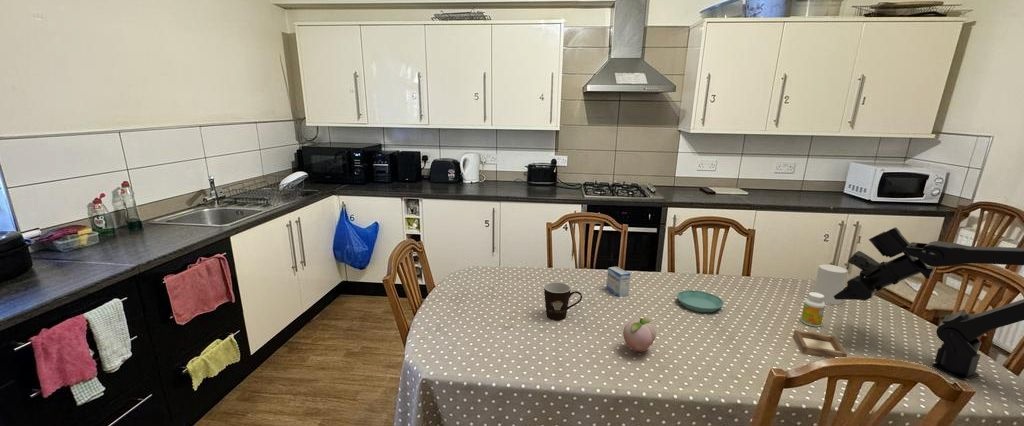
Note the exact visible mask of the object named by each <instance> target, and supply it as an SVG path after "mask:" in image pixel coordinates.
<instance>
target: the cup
mask: <svg viewBox="0 0 1024 426" xmlns="http://www.w3.org/2000/svg"><path fill="white" fill-rule="evenodd" d="M847 276H848V269H846V268H844V267H841V266H838V265H833V264H826V263H825V264H819V265H818V269H817V273H816V279H815V280H816V281H815V283H814V284H815V285H814V289H813V290H814V291H813V292H816V293H820V294H822V295H824V300H823V302H824V303H825V304H826V303H827V305H831V304H833V305H832V306H838V304H839V305H841V304H842V300H836V299H835V298H834V295H836V294H837V293H839V292H840V291H842V290H843V289H844V288H845V287H846V280H847Z"/></svg>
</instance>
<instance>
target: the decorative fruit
mask: <svg viewBox="0 0 1024 426" xmlns="http://www.w3.org/2000/svg"><path fill="white" fill-rule="evenodd" d="M651 322H652V320H651V319H649V318H648V317H640V319H637V318H635V319H632V320H630V321H628V322H627V323H626V324H625V325H624V327H623V329H622V331H623V332H622V335H623V339H624V342H625V343H626V345H627V347H628V348H630V349H631V350H633V351H636V352H639V353H640V352H645V351H646V350H648V349H649V348H650V346H652V345H653V343H654V341H655V340H656V338H657V331H656V328H655V327H654V325H653V324H652V323H651Z"/></svg>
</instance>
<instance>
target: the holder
mask: <svg viewBox="0 0 1024 426" xmlns="http://www.w3.org/2000/svg"><path fill="white" fill-rule="evenodd" d="M792 336H793V338H794V340H795V342H796V344H797V345H798V346H797V347H799V349H800V351H801V354H804V355H810V356H817V357H823V358H827V359H833V358H835V357H846V358H847V356H848V353H847V352H846V350H845V349H844V347H843V346H842V345H841V344H840V342H839V341H838V339H837V337H836V336H834V335H829V334H821V333H815V332H809V331H804V330H803V331H802V330H798V329H797V330H796V329H794V331H793V335H792Z"/></svg>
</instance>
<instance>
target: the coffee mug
mask: <svg viewBox="0 0 1024 426" xmlns="http://www.w3.org/2000/svg"><path fill="white" fill-rule="evenodd" d="M571 287H572V286H570V285H569V284H568V283H565V282H559V281H553V282H548V283H545V284H544V285H543V293H544V294H543V295H544V304H545V315H546V316H545V317H546V318H547V319H549V320H551V321H554V322H555V321H557V322H561V321H564V320H566V318H567V314H568V310H569V309H571V308H573V307H574V306H577V304H579V303H580V302H581V301H582V300H583V294H582V293H581V292H580V291H577V290H576V291H575V290H574V291H572V292H571V290H572V288H571ZM574 294H578V295H579V296H580V297H579V300H578V301H576V302H575V303H573V304H571V305H569V303H570V298H571V297H572V295H574Z"/></svg>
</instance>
